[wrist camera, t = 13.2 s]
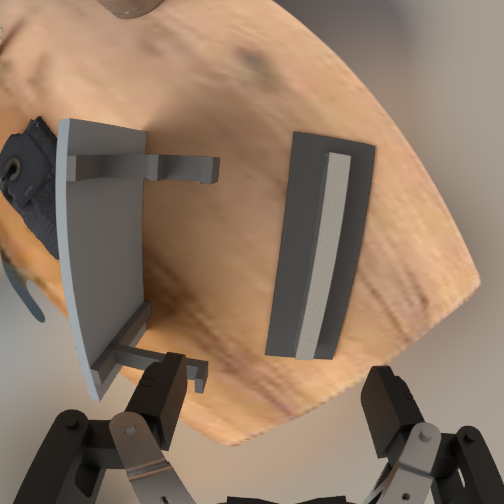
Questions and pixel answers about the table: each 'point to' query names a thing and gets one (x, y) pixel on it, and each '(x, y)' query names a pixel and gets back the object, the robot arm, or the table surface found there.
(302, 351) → the rail
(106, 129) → the rail stand
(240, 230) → the table surface
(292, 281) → the mat
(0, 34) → the banana
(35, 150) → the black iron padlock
